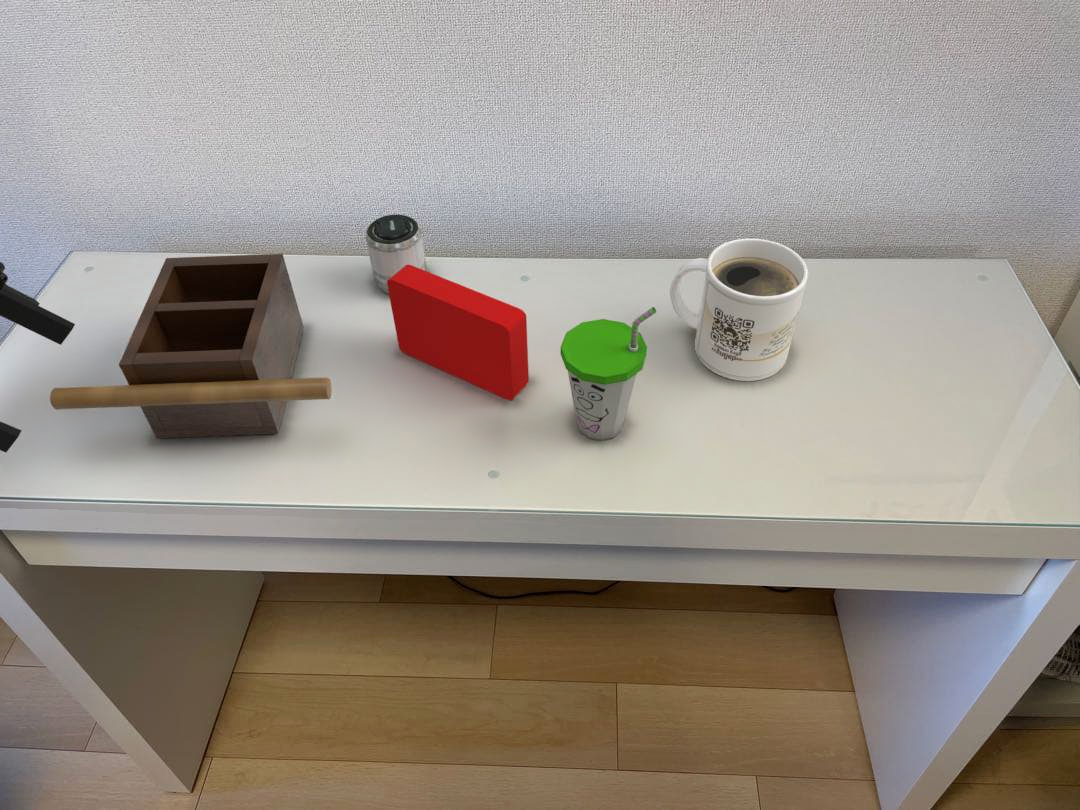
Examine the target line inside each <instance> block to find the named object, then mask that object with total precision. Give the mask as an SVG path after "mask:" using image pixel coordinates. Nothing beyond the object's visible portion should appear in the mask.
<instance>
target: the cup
mask: <svg viewBox="0 0 1080 810" xmlns="http://www.w3.org/2000/svg"><path fill="white" fill-rule="evenodd" d="M656 309H657V308H655V307H654V306H652V307H651V308H649V309H648V310H646V311H645V312H643V313H641V315H640V316H638V317H637V318H635V319H634V320H633V322H632V324H631V325H628V324H627V323H626V322H623V321H617V320H611V319H606V318H600V319H594V320H589V321H582V322H581V323H579V324H578V325H576V326H574V327H573V328H571V329H570V330H568V331H567V332H566V333H565V334H564V338H563V340H562V341H561V342H562V343H561V345H560V357H561V360H562V362H563V365H564V367H565V370H566V371H567V375H568V380H569V381H568V382H569V386H570V392H571V398H572V404H573V409H574V414H575V420H576V425H577V427H578V430H579V433H580V434H581V435H583V436H585V437H586V438H587V439H589V440H593V441H599V442H603V441H608V440H613V439H614V438H615V437H618V435H620V434H621V432H622V430H623V427H624V422H625V419H626V415H627V412H628V408H629V404H630V401H631V397H632V393H633V390H634V387H635V383H636V379H637V376H638V373H640V372H641V371H642V370H643V369H644V365H645V361H646V358H647V354H648V346H647V344H646V342H645V339H644V338H643V335H642V334H641V332H640V331H639V326H640V325H641V324H642V323H643V322H645V321H646V320H647V319H649V318H650V317H652V316H653V315H655V314H656V313H657V310H656Z"/></svg>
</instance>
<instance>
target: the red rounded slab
mask: <svg viewBox="0 0 1080 810" xmlns="http://www.w3.org/2000/svg"><path fill="white" fill-rule="evenodd" d="M387 285H388V291H389V294H388V296H389V301H390V306H391V307H390V308H391V312H392V317H393V323H394V329H395V335H396V339H397V344H398V349H399V350H400V351H401V352H402V353H404V354H405V355H407V356H409V357H412V358H414V359H416V360H418V361H420V362H423V363H425V364H427V365H429V366H432V367H433V368H436V369H438V370H440V371H442V372H445V373H447V374H449V375H451V376H453V377H456V378H458V379H460V380H463V381H464V382H466V383H469V384H471V385H474V386H476V387H478V388H480V389H482V390H484V391H487V392H488V393H491V394H493V395H496V396H498V397H500V398H502V399H505V400H507V401H513V400H514V399H515V398H516V397H517V396H518V395H519V393H520V392H521V391H522V390H523V389H524V388H525V387H526V386H527V385H528V384H529V382H530V375H529V353H528V352H529V351H528V349H529V347H528V323H527V313H526V312H525V311H524V310H523V309H521V308H519V307H518V306H515V305H512V304H510V303H507V302H504V301H502V300H499V299H497V298H494V297H491V296H490V295H488V294H484V293H482V292H479V291H477V290H474V289H473V288H470V287H467V286H464V285H462V284H460V283H457V282H455V281H452V280H449V279H447V278H445V277H442V276H439V275H437V274H434V273H432V272H430V271H427V270H426V271H425V270H422V269H420V268H417V267H415V266H412V265H405V266H404V267H403V268H402V269H401V270H399V271H398V272H397V273H396V274H395V275H393V276H392V277H391V278H390V279H389V280H387Z"/></svg>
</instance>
